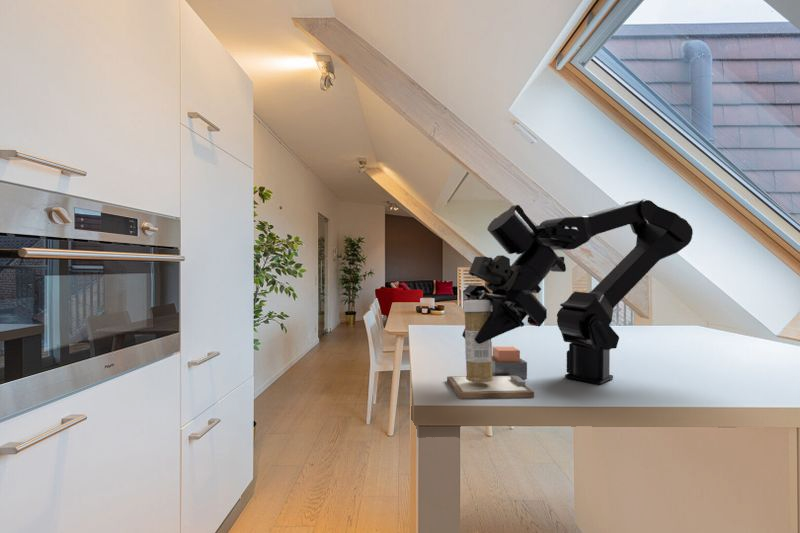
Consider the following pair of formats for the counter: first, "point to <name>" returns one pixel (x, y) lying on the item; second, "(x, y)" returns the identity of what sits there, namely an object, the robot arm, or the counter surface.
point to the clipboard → (490, 387)
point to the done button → (506, 354)
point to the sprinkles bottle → (476, 353)
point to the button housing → (509, 368)
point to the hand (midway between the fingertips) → (470, 339)
